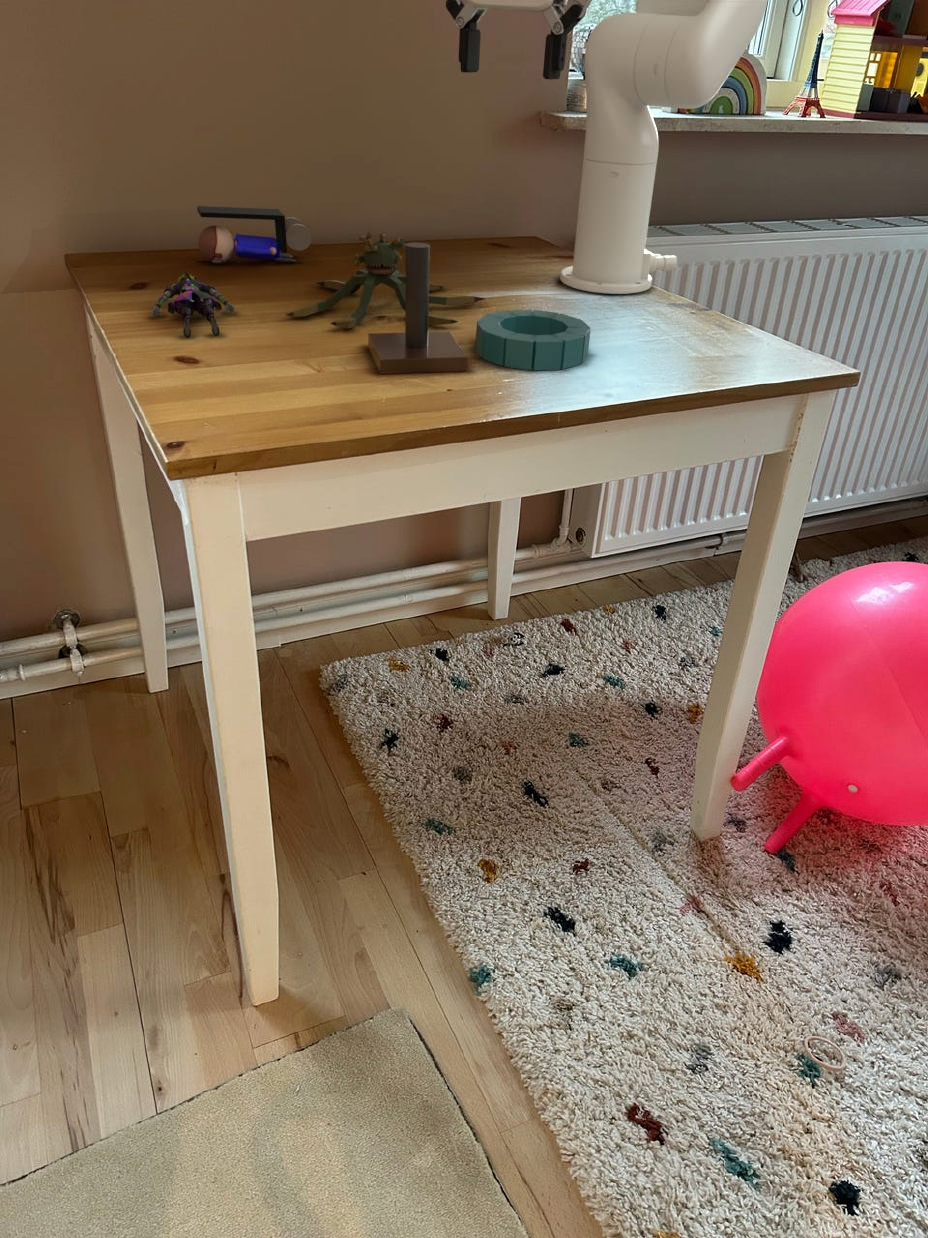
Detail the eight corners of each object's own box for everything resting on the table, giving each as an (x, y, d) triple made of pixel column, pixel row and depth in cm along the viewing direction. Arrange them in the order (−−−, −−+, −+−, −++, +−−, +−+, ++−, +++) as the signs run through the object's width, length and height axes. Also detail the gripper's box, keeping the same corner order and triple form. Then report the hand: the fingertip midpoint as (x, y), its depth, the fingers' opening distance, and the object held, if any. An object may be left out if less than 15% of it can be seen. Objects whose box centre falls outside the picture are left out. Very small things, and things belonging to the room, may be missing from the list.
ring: (566, 334, 110) (569, 308, 109) (601, 368, 101) (604, 339, 99) (466, 337, 108) (467, 310, 106) (491, 372, 98) (493, 343, 97)
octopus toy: (285, 332, 107) (280, 249, 102) (283, 286, 124) (279, 213, 119) (503, 330, 111) (508, 251, 106) (473, 286, 127) (476, 216, 123)
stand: (449, 344, 105) (452, 235, 99) (467, 371, 98) (472, 254, 92) (368, 347, 104) (366, 235, 97) (380, 374, 96) (379, 255, 90)
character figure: (245, 337, 106) (226, 294, 118) (242, 303, 104) (223, 263, 116) (158, 342, 103) (148, 297, 115) (153, 307, 101) (143, 266, 113)
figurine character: (301, 264, 140) (195, 255, 135) (304, 209, 136) (195, 198, 131) (310, 275, 135) (200, 266, 129) (313, 218, 131) (201, 207, 125)
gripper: (619, -121, 93) (597, 80, 102) (462, -121, 99) (454, 69, 108) (592, -133, 87) (572, 82, 96) (427, -132, 93) (422, 69, 102)
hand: (509, 75), depth 102 cm, fingers open, 9 cm apart
